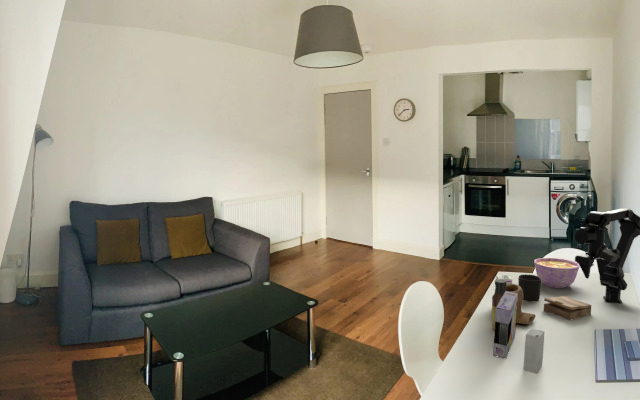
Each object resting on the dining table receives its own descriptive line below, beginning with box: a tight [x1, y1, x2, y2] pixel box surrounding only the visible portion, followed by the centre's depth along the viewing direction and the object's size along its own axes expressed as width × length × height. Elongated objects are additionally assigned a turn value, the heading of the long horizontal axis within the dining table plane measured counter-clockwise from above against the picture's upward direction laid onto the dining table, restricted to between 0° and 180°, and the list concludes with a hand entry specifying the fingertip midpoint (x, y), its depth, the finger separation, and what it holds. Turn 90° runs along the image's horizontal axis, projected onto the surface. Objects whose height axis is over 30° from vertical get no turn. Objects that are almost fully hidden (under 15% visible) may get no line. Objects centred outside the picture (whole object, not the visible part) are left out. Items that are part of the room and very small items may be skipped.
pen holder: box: [517, 274, 542, 303], centre depth 204 cm, size 9×9×10 cm
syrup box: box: [495, 274, 513, 284], centre depth 191 cm, size 6×6×14 cm
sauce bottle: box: [491, 279, 507, 332], centre depth 169 cm, size 6×6×20 cm
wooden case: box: [543, 302, 592, 321], centre depth 187 cm, size 13×12×3 cm
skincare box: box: [523, 328, 545, 374], centre depth 141 cm, size 6×4×12 cm
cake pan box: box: [492, 291, 518, 359], centre depth 155 cm, size 19×5×18 cm, turn 148°
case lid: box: [543, 295, 592, 310], centre depth 187 cm, size 13×12×2 cm
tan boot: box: [506, 283, 536, 325], centre depth 178 cm, size 15×12×15 cm
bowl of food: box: [533, 257, 581, 289], centre depth 221 cm, size 20×20×12 cm
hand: (594, 276), depth 193 cm, fingers open, 9 cm apart
